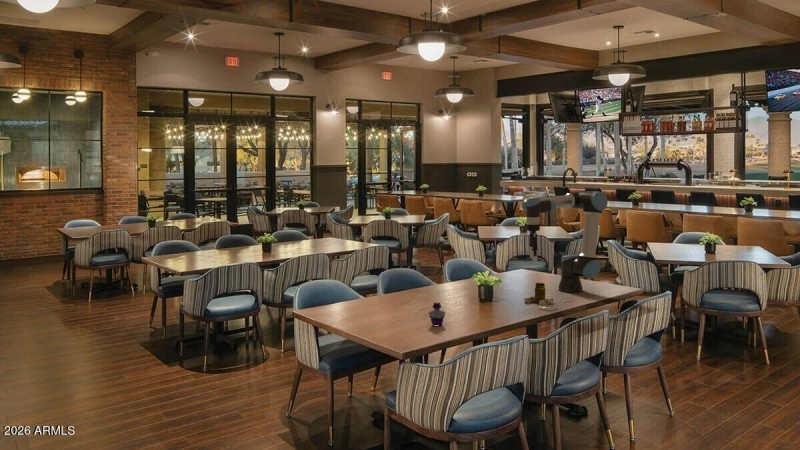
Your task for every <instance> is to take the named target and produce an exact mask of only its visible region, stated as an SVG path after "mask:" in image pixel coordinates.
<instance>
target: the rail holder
mask: <svg viewBox="0 0 800 450" xmlns="http://www.w3.org/2000/svg"><path fill="white" fill-rule="evenodd" d="M523 299H524V304H529V303H530V302H535V295H532V296H528V297H524V298H523ZM530 304H531V303H530ZM552 304H554V298H553V297H549V298H545V300H541V301H539V305H552ZM539 305H538V306H539Z"/></svg>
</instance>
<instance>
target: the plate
mask: <svg viewBox="0 0 800 450" xmlns="http://www.w3.org/2000/svg"><path fill="white" fill-rule="evenodd" d="M537 310H540V311H556V310H558V306H556V305H553V304H548V305H537Z"/></svg>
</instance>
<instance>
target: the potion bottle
mask: <svg viewBox="0 0 800 450" xmlns="http://www.w3.org/2000/svg"><path fill="white" fill-rule="evenodd" d="M441 308H442V305H441V302H438V301H434V302H433V304H432V309H433V310H430V311H428V315H429V318H430V322H431V325H432V324H433V325H442V326H443V322H444V318H445V316H446V315H445V314H446V312H445V311H444V310H441Z"/></svg>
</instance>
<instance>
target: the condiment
mask: <svg viewBox="0 0 800 450" xmlns="http://www.w3.org/2000/svg"><path fill="white" fill-rule="evenodd" d="M534 296H535V301H534V302H530V304H532V305H537V306H539V301H541V300H545V299H546V285H545V282H535V286H534Z"/></svg>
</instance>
